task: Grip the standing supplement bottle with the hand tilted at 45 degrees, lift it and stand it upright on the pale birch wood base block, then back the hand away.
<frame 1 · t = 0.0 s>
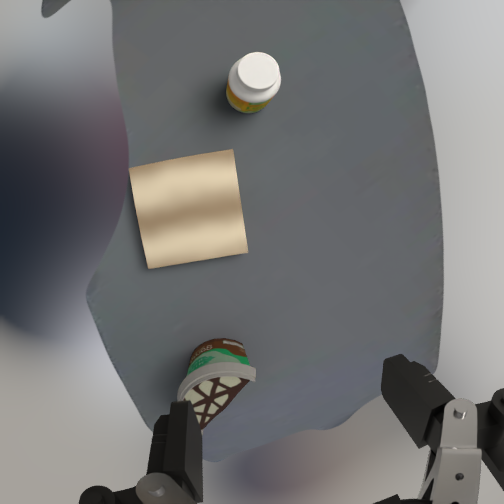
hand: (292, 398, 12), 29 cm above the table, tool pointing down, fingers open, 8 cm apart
food container: (206, 355, 44), on the table
base block: (190, 207, 38), on the table
supplement bottle: (247, 93, 35), on the table
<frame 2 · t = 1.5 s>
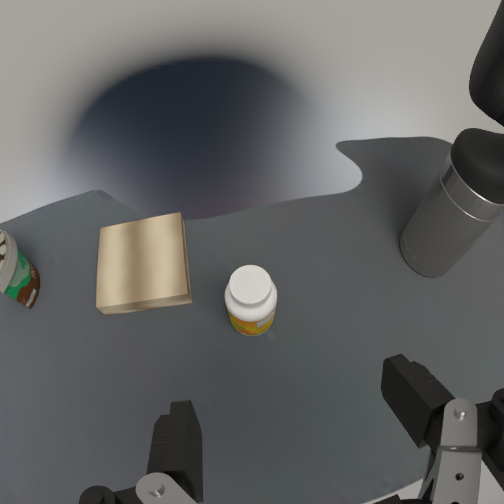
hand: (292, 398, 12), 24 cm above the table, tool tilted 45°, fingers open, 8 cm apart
food container: (30, 278, 41), on the table
base block: (145, 268, 41), on the table
supplement bottle: (252, 316, 38), on the table
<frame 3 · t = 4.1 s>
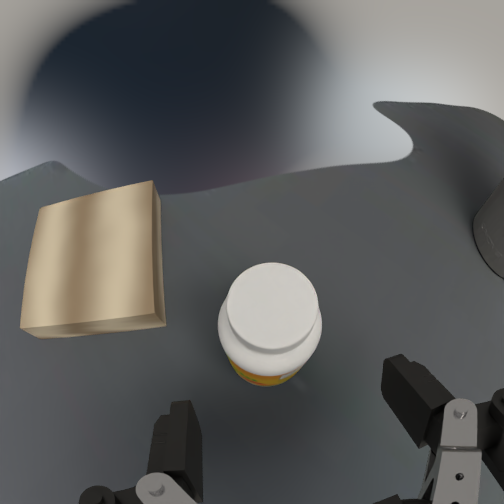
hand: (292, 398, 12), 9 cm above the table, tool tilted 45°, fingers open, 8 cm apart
base block: (98, 268, 25), on the table
supplement bottle: (266, 351, 22), on the table
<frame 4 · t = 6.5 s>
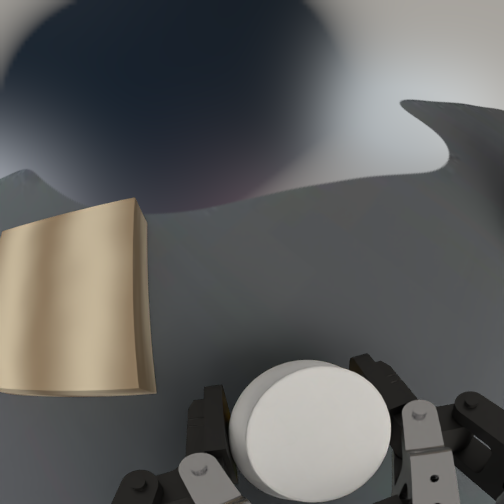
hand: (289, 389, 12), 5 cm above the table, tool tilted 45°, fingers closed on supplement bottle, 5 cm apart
base block: (70, 310, 19), on the table
supplement bottle: (287, 425, 16), on the table, touching gripper
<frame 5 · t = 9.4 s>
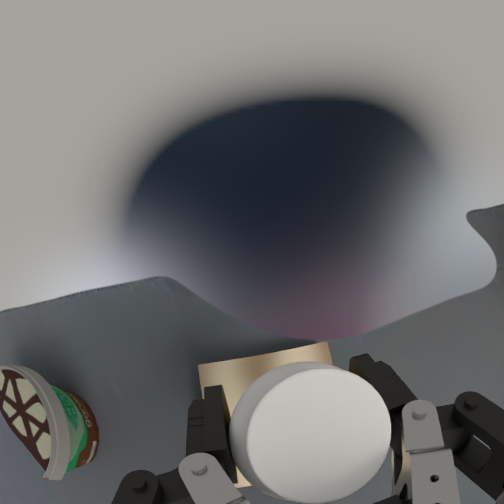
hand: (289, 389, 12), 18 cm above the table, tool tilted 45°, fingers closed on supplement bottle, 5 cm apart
food container: (77, 414, 27), on the table
base block: (274, 417, 27), on the table
supplement bottle: (287, 426, 16), point 13 cm above the table, touching gripper
when the fingers open (9 cm above the table, at t = 12.4 s): supplement bottle drops 1 cm, resting on base block.
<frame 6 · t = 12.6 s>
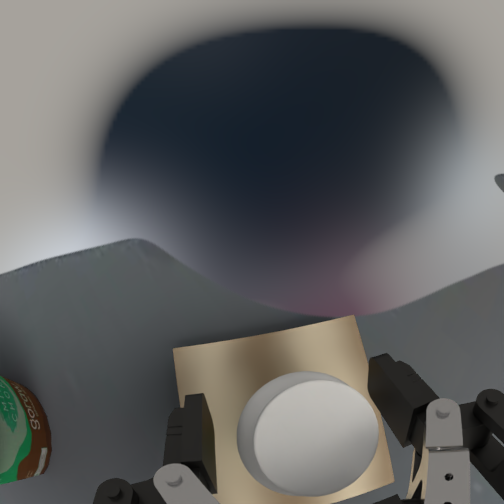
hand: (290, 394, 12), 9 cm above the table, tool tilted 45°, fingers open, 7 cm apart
food container: (28, 412, 19), on the table
base block: (281, 424, 19), on the table
supplement bottle: (288, 428, 17), point 3 cm above the table, touching base block
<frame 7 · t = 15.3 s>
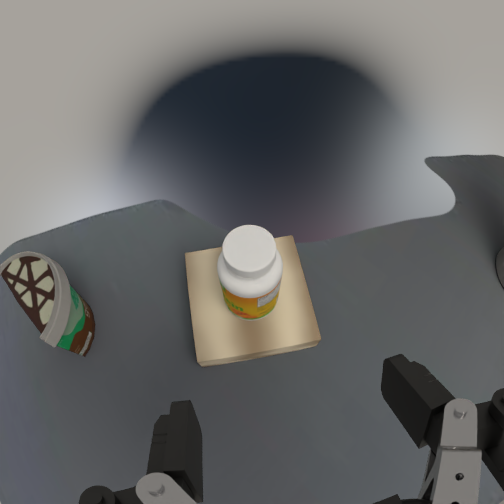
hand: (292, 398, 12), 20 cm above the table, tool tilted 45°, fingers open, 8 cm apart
food container: (77, 314, 34), on the table
base block: (249, 304, 34), on the table
supplement bottle: (251, 297, 32), point 3 cm above the table, touching base block
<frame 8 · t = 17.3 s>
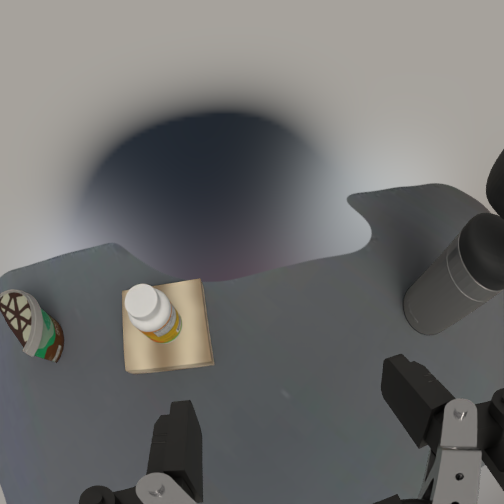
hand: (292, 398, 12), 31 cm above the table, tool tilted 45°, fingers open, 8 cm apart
food container: (52, 331, 44), on the table
base block: (168, 330, 44), on the table
supplement bottle: (164, 326, 41), point 3 cm above the table, touching base block
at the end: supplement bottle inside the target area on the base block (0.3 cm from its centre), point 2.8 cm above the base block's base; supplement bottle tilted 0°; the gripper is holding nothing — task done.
